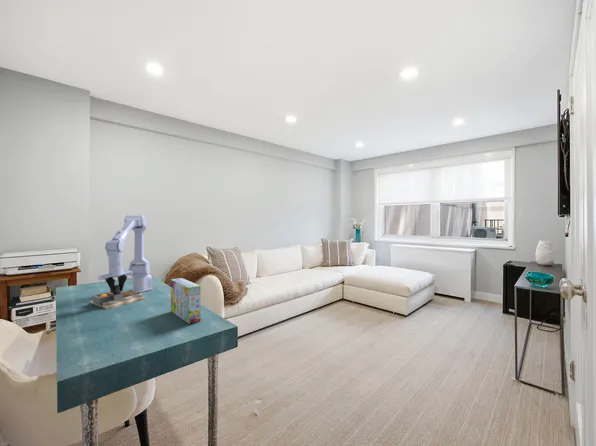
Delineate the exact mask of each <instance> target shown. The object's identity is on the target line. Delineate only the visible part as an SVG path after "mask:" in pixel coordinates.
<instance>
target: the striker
mask: <svg viewBox="0 0 596 446" xmlns="http://www.w3.org/2000/svg"><path fill="white" fill-rule="evenodd" d="M114 288H115V293H111V290H110V291H109V292H107V295H108V296H111V300H114V301H115V300H119V299H123V293H120V292H121V291H120V285H119V284H114Z"/></svg>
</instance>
